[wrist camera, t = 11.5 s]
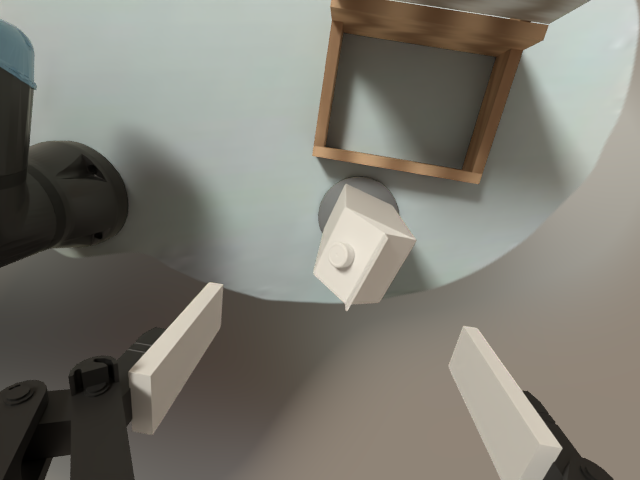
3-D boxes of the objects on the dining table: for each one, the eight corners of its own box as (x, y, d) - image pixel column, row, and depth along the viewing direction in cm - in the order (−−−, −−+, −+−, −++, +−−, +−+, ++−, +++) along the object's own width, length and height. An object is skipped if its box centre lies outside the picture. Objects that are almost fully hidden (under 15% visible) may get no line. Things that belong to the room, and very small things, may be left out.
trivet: (313, 245, 45) (312, 247, 44) (325, 170, 41) (325, 170, 40) (387, 258, 44) (388, 260, 44) (406, 184, 41) (407, 184, 40)
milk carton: (392, 205, 41) (428, 256, 23) (368, 249, 43) (384, 327, 25) (345, 182, 41) (344, 217, 23) (323, 228, 43) (307, 293, 25)
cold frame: (315, 154, 40) (284, 169, 21) (338, -1, 35) (326, -185, 15) (467, 180, 40) (588, 221, 20) (516, 27, 34) (750, -127, 14)
